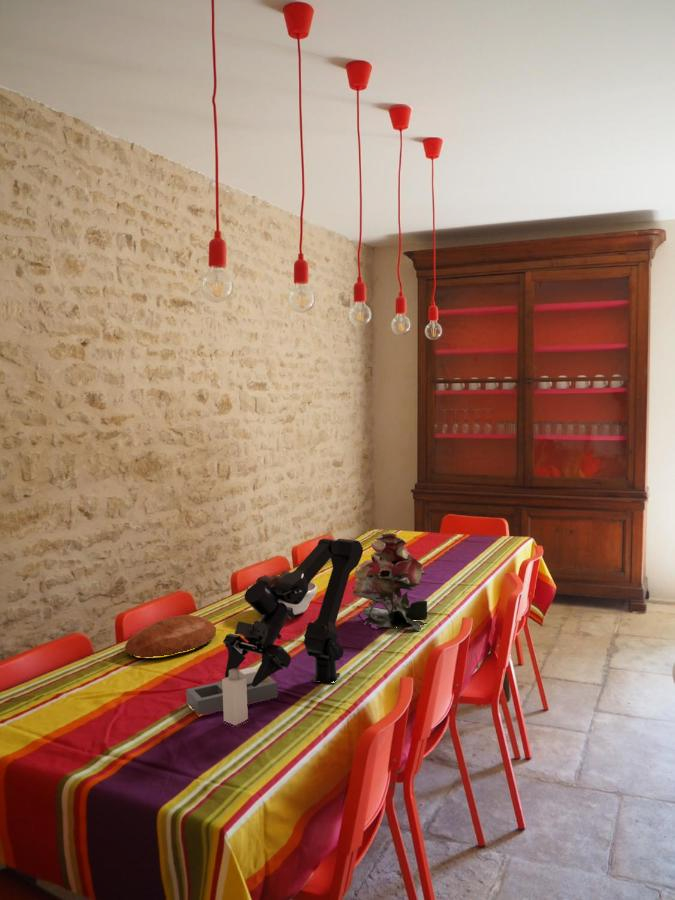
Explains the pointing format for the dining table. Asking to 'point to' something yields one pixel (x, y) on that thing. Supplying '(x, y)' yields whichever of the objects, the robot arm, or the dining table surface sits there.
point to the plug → (234, 698)
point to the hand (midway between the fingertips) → (239, 681)
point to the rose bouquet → (390, 583)
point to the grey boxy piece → (212, 694)
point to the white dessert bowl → (296, 608)
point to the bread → (171, 636)
